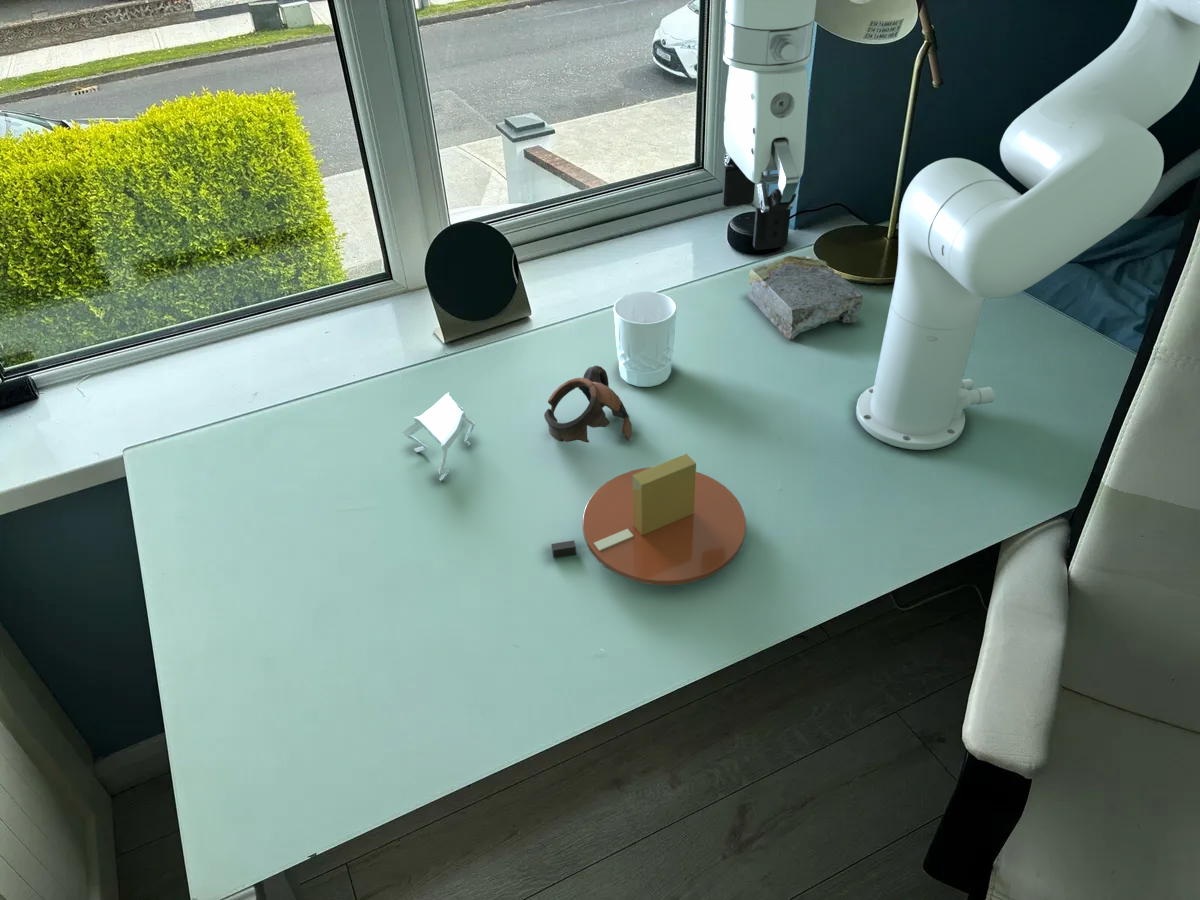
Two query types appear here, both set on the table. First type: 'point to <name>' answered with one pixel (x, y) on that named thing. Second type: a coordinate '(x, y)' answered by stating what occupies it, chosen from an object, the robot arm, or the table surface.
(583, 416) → the pottery mug
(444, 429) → the origami figure
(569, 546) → the dark grey rectangular block
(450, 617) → the table surface
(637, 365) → the white cup
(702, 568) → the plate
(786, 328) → the geological specimen
